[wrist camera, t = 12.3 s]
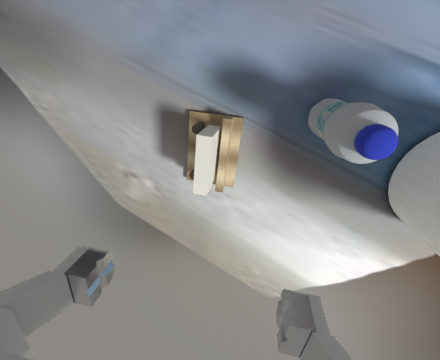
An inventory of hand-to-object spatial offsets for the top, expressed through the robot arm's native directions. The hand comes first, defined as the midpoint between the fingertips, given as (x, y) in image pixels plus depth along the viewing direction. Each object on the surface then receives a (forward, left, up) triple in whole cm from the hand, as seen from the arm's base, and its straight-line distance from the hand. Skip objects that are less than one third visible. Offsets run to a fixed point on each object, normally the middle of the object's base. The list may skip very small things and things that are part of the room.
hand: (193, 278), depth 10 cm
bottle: (-5, +14, -35) cm, 38 cm away
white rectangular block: (+4, -5, -34) cm, 34 cm away
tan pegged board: (+4, -5, -35) cm, 35 cm away
